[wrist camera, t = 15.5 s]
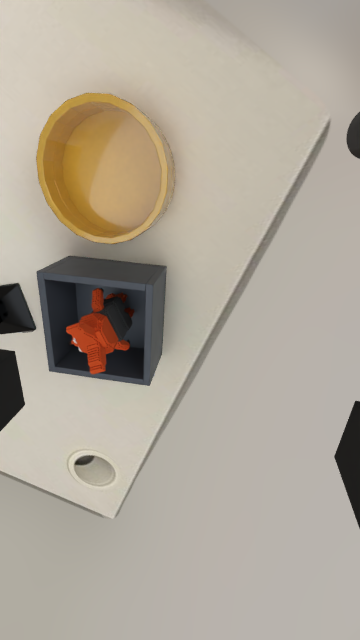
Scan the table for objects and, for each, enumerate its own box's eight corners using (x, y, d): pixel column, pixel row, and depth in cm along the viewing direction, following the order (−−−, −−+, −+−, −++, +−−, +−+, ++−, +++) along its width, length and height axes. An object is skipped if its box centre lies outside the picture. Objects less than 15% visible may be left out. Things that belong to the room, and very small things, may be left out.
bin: (166, 266, 38) (153, 284, 32) (162, 354, 44) (149, 386, 37) (69, 255, 40) (36, 271, 33) (76, 342, 45) (49, 371, 38)
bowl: (179, 107, 31) (171, 96, 27) (171, 241, 37) (164, 249, 33) (53, 100, 33) (28, 89, 29) (64, 231, 38) (44, 237, 34)
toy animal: (83, 287, 41) (30, 327, 30) (119, 273, 39) (77, 309, 28) (110, 339, 43) (71, 393, 32) (145, 328, 42) (116, 380, 31)
